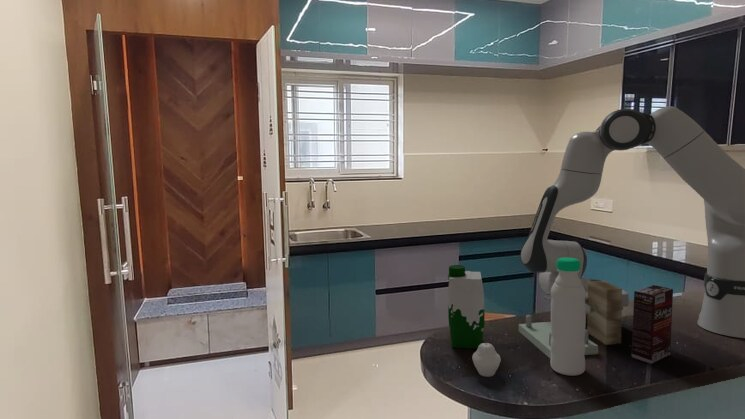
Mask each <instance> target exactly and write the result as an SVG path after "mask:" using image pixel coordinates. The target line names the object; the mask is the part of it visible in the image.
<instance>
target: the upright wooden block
mask: <svg viewBox="0 0 745 419" xmlns="http://www.w3.org/2000/svg"><path fill="white" fill-rule="evenodd" d="M598 280H599V281H588V304H591V305H593V306H594V312H593V313H587V316H586V317H587V321H586V323H587V325H586V328H587V329H586V330H588V331H589V335H590V336H592V337H593V336H594V337H593V338H595V339H596V338H597V339H596V340H598V341H599V340H600V342H601V343H602V344H604V345H606V346H607V345H617V343H619V344H621V343H622V317H623V315H622V314H623V313H622V312H623V310H622V290H623V288H621V287H618V286H617V285H615V284H611V283H609V282H608V281H606V280H604V281H603V280H602V279H601V280H600V279H598ZM605 281H606V282H605Z"/></svg>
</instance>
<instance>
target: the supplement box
mask: <svg viewBox="0 0 745 419" xmlns="http://www.w3.org/2000/svg"><path fill="white" fill-rule="evenodd" d="M673 295H674V289H673V288H670V287H666V286H659V285H654V284H653V285H651V286H647V287H644V288H642V289H638V290H634V291H633V311H632V312H633V314H632V315H633V316H632V317H633V319H632V337H631V338H632V339H631V341H632V342H631V357H632V358H633V359H636V360H639V361H642V362H643V363H648V364H650V365H651V364H654V363H655V362H658V361H659V360H662V359H663V358H666V357H668V356H670V355H671V348H672V347H671V346H672V342H671V340H672V324H673V320H672V319H673V303H674V302H673V301H674V300H673V297H674V296H673Z"/></svg>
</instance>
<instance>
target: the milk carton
mask: <svg viewBox="0 0 745 419" xmlns="http://www.w3.org/2000/svg"><path fill="white" fill-rule="evenodd" d="M482 279H483V278H482V274H481V271H470V270H466V266H465V265H460V264H458V265H457V264H454V265H450V266H448V290H447V309H448V312H447V314H448V327H449V335H450V341H451V347H452V348H455V349H456V348H459V349H461V348H462V349H476V350H477V349H478V346H479V345H480V344H482V343H483V337H484V332H485V290H484V285H483V280H482Z"/></svg>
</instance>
